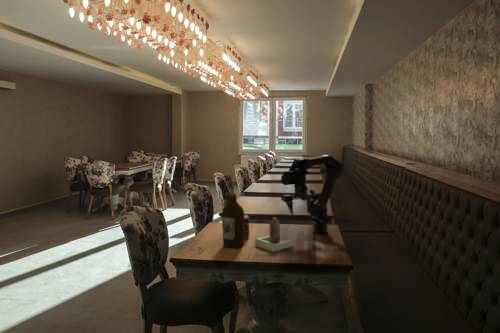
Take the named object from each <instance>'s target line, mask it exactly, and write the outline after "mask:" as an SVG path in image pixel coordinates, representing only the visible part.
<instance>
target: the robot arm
mask: <svg viewBox="0 0 500 333" xmlns="http://www.w3.org/2000/svg"><path fill="white" fill-rule="evenodd" d="M317 165H319V166H320V165H323V166H324V167H325V168H326V171H325V173H326V179H325V180H324V184H323V186H322V188H321V192H320V194H319V193H316V190H314V189H310V190H309V189H308V186H307V175H310V174H311V173H310V172H309V171H308V170H309V169H311V168H312V167H315V166H317ZM289 167H290V168H289V169H288V170H284V171H283V174H282V175H281V177H280V181H281V184H282V185H283V186H291V185H293V187H294V192H293V195H291V194H282V195H281V197H280V200H281V201H283V202H284V203H285V204H286V206H287V208H288V210H289V213H290V215H291V216H292V215H293V214H294V208H293V204H294V201H293V200H295V201H296V200H301V201H304V202H306V211H307V214H309V215H310V218H311V221H313V225H312V229H313V230H311V231H312V233H314V234H316V235H326V234H329V231H328V223H330V222H331V217H330V216H329V214H328V202H329V200H330V197H331V194H332V191H333V189H334V186H335V184H336V181H337V179H339V178H340V177H341V175H342V173H343V172H344V166H343V163H341V162H340V161H339V160H338V159H335V158H334V157H333V156H332V155H330V154H323V155H320V156H314V157H310V158H303V157H302V158H301V157H300V158H298V157H297V158H294V159H293V161H292V164H291V166H289Z"/></svg>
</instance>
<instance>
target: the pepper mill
mask: <svg viewBox="0 0 500 333" xmlns="http://www.w3.org/2000/svg"><path fill="white" fill-rule="evenodd" d="M269 236H270V242H271V243H274V244H276V243H280V242H281V239H280V238H281V237H280V236H281V224H280V222H279V220H278V219H277V217H272V220H271V221H270V222H269Z"/></svg>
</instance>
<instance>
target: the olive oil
mask: <svg viewBox="0 0 500 333" xmlns="http://www.w3.org/2000/svg"><path fill="white" fill-rule="evenodd" d="M228 195H229V197H228V199H229V200H228V202H227V203H226V205H225V206H224V207H223V208H222V210H221V211H222V212H221V224H222V240H223V242H222V244H223V245H222V246H223V247H224V248H225V249H240V248H243V246H244V239H243V232H244V215H245V210H244V208H243V207H242V206H241V205H240V204H239V202H237V201H238V200H237V193H234V192H230V193H228Z"/></svg>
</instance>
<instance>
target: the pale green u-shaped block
mask: <svg viewBox="0 0 500 333" xmlns="http://www.w3.org/2000/svg"><path fill="white" fill-rule="evenodd" d="M254 239H255V240H254V242H255V244H254V246H256V247H259V248H261V249H265V250H267V251H270V252H272V253H273V252H278V251H281V250H284V249H287V248H291V247H293V239H288V240H284V241H280V243H276V244H274V243H271V242H270V235H267V236H263V237H259V238H258V237H256V238H254Z"/></svg>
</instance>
